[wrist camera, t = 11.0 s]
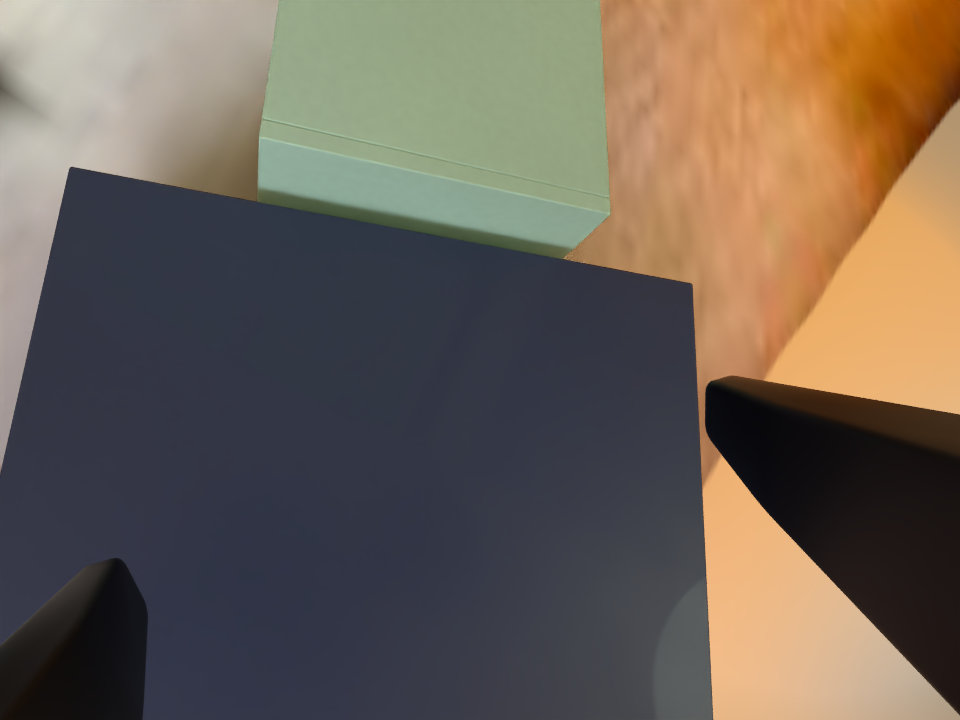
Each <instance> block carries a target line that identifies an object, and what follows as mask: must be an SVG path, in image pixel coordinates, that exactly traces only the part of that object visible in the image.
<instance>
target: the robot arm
mask: <svg viewBox="0 0 960 720" xmlns="http://www.w3.org/2000/svg"><path fill="white" fill-rule="evenodd" d="M705 427H706V432H707V434H708V436H709V438H710V440H711V441H712V443H713V444H714V445H715V447H716V448H717V449H718V451H719V452H720V453H721V454H722V456H723V457H724V458H725V460H726V461H727V462H728V464H729V465H730V466H731V467H732V469H733V470H734V471H735V472H736V474H737V475H738V476H739V478H740V479H741V480H742V482H743V483H744V484H745V486H746V487H747V488H748V489H749V491H750V492H751V493H752V495H753V496H754V497H755V498H756V500H757V501H758V502H759V503H760V504H761V506H762V507H763V508H764V509H765V510H766V511H767V513H768V514H769V515H770V516H771V517H772V518H773V519H774V520H775V521H776V522H777V523H778V524H779V526H780V527H781V528H782V529H783V530H784V531H785V532H786V533H787V534H788V535H789V536H790V537H791V538H792V539H793V540H794V541H795V542H796V543H797V545H799V547H800V548H801V549H803V551H804V552H805V553H806V554H807V555H808V556H809V557H810V558H811V559H812V560H813V561H814V562H815V563H816V565H817V566H819V568H821V570H822V571H823V572H824V573H825V574H826V575H827V576H828V577H829V578H830V579H831V580H832V581H833V582H834V583H835V585H836V586H837V587H838V588H839V589H840V590H841V591H842V592H843V593H844V594H845V595H846V596H847V597H848V598H849V599H850V600H851V601H852V602H853V603H854V604H855V605H856V606H857V608H858V609H859V610H860V611H861V612H862V613H863V614H864V615H865V616H866V617H867V618H868V619H869V620H870V621H871V622H872V623H873V624H874V626H875V627H876V628H877V629H878V630H879V631H880V632H881V633H882V634H883V635H884V636H885V637H886V638H887V639H888V640H889V641H890V642H891V643H892V644H893V646H894V647H895V648H896V649H898V651H899V652H900V653H901V654H902V655H903V656H904V657H905V658H906V659H907V660H908V661H909V662H910V663H911V664H912V665H913V667H914V668H915V669H916V670H917V671H918V672H919V673H920V674H921V675H922V676H923V677H924V678H925V679H926V680H927V681H928V682H929V683H930V684H931V686H932V687H933V688H934V689H935V690H936V691H937V692H938V693H939V694H940V695H941V696H942V697H943V698H944V699H945V700H946V701H947V702H948V703H949V704H950V706H951V707H953V708H954V710H955V711H956V712H957V713H958V714H959V715H960V415H959V414H953V413H948V412H942V411H936V410H930V409H924V408H918V407H912V406H907V405H901V404H895V403H889V402H883V401H878V400H872V399H866V398H860V397H854V396H849V395H843V394H837V393H831V392H825V391H819V390H814V389H807V388H802V387H796V386H791V385H784V384H779V383H773V382H767V381H762V380H756V379H750V378H744V377H738V376H727V377H724V378H720V379H717V380H714V381H711V382H710V383H709V384H708V385H707V387H706V393H705ZM147 630H148V611H147V606H146V603H145V600H144V598H143V596H142V594H141V592H140V590H139V589H138V587H137V585H136V583H135V581H134V579H133V577H132V575H131V573H130V571H129V569H128V567H127V565H126V564H125V563H124V562H123V561H122V560H121V559H119V558H111V559H108V560H105V561H101V562H98V563H95V564H91V565H88V566H86V567H84V568H83V569H82V570H81V571H80V572H79V573H78V574H76V575H75V576H74V577H73V578H72V579H71V580H70V581H69V582H68V583H67V584H66V585H65V586H64V587H62V588H61V589H60V590H59V591H58V592H57V593H56V594H55V595H54V596H53V597H52V598H51V599H50V600H48V601H47V602H46V603H45V604H44V605H43V606H42V607H41V608H40V609H39V610H38V611H37V612H36V613H34V614H33V615H32V616H31V617H30V618H29V619H28V620H27V621H26V622H25V623H24V624H23V625H22V626H20V627H19V628H18V629H17V630H16V631H15V632H14V633H13V634H12V635H11V636H10V637H9V638H8V639H6V640H5V641H4V642H3V643H2V644H1V645H0V720H143V710H144V691H145V671H146V651H147Z"/></svg>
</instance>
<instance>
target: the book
mask: <svg viewBox="0 0 960 720" xmlns="http://www.w3.org/2000/svg"><path fill="white" fill-rule="evenodd" d="M703 518H704V517H703V497H702V475H701V454H700V433H699V412H698V391H697V370H696V349H695V328H694V307H693V286H692V284H691V283H687V282H681V281H676V280H671V279H665V278H660V277H655V276H649V275H644V274H639V273H633V272H628V271H623V270H617V269H612V268H607V267H601V266H596V265H591V264H585V263H580V262H575V261H570V260H564V259H559V258H554V257H548V256H543V255H538V254H532V253H527V252H522V251H516V250H511V249H506V248H500V247H495V246H490V245H484V244H479V243H474V242H468V241H463V240H458V239H452V238H447V237H442V236H437V235H431V234H426V233H421V232H415V231H410V230H405V229H399V228H394V227H389V226H383V225H378V224H373V223H367V222H362V221H357V220H351V219H346V218H341V217H335V216H330V215H325V214H319V213H314V212H309V211H304V210H298V209H293V208H288V207H282V206H277V205H272V204H266V203H261V202H256V201H250V200H245V199H240V198H234V197H229V196H224V195H218V194H213V193H208V192H202V191H197V190H192V189H186V188H181V187H176V186H170V185H165V184H160V183H155V182H149V181H144V180H139V179H133V178H128V177H123V176H117V175H112V174H107V173H101V172H96V171H91V170H85V169H80V168H75V167H70V169H69V172H68V176H67V181H66V185H65V190H64V194H63V199H62V203H61V207H60V212H59V216H58V221H57V225H56V230H55V234H54V238H53V243H52V247H51V252H50V256H49V261H48V265H47V269H46V274H45V278H44V283H43V287H42V292H41V296H40V300H39V305H38V309H37V314H36V318H35V323H34V327H33V331H32V336H31V340H30V345H29V349H28V353H27V358H26V362H25V367H24V371H23V376H22V380H21V384H20V389H19V393H18V398H17V402H16V407H15V411H14V415H13V420H12V424H11V429H10V433H9V438H8V442H7V446H6V451H5V455H4V460H3V464H2V469H1V473H0V645H1V644H2V643H3V642H4V641H5V640H6V639H8V638H9V637H10V636H11V635H12V634H13V633H14V632H15V631H16V630H17V629H18V628H19V627H20V626H22V625H23V624H24V623H25V622H26V621H27V620H28V619H29V618H30V617H31V616H32V615H33V614H34V613H36V612H37V611H38V610H39V609H40V608H41V607H42V606H43V605H44V604H45V603H46V602H47V601H48V600H50V599H51V598H52V597H53V596H54V595H55V594H56V593H57V592H58V591H59V590H60V589H61V588H62V587H64V586H65V585H66V584H67V583H68V582H69V581H70V580H71V579H72V578H73V577H74V576H75V575H76V574H78V573H79V572H80V571H81V570H82V569H83V568H84V567H86V566H88V565H91V564H95V563H98V562H101V561H105V560H108V559H111V558H119V559H121V560H122V561H123V562H124V563H125V564H126V565H127V567H128V569H129V571H130V573H131V575H132V577H133V579H134V581H135V583H136V585H137V587H138V589H139V590H140V592H141V594H142V596H143V598H144V600H145V603H146V606H147V611H148V630H147V651H146V671H145V691H144V710H143V720H713V707H712V685H711V664H710V643H709V622H708V601H707V581H706V559H705V538H704V519H703Z"/></svg>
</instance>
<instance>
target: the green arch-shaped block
mask: <svg viewBox="0 0 960 720" xmlns="http://www.w3.org/2000/svg"><path fill="white" fill-rule="evenodd" d="M609 197H610V191H609V171H608V151H607V131H606V111H605V91H604V71H603V51H602V31H601V10H600V0H279V5H278V12H277V19H276V26H275V32H274V39H273V46H272V52H271V59H270V66H269V72H268V79H267V86H266V93H265V99H264V106H263V113H262V121H261V126H260V133H259V154H258V194H257V202H261V203H266V204H272V205H277V206H282V207H288V208H293V209H298V210H304V211H309V212H314V213H319V214H325V215H330V216H335V217H341V218H346V219H351V220H357V221H362V222H367V223H373V224H378V225H383V226H389V227H394V228H399V229H405V230H410V231H415V232H421V233H426V234H431V235H437V236H442V237H447V238H452V239H458V240H463V241H468V242H474V243H479V244H484V245H490V246H495V247H500V248H506V249H511V250H516V251H522V252H527V253H532V254H538V255H543V256H548V257H554V258H559V259H563V258H564V257H565V256H566V255H567V254H569V253H570V252H571V251H572V250H573V249H574V248H575V247H576V246H577V245H578V244H579V243H580V242H581V241H583V240H584V239H585V238H586V237H587V236H588V235H589V234H590V233H591V232H592V231H593V230H594V229H595V228H597V227H598V226H599V225H600V224H601V223H602V222H603V221H604V220H605V219H606V218H607V217H608V216H609V215H610V214H611V209H610V199H609Z"/></svg>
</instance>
